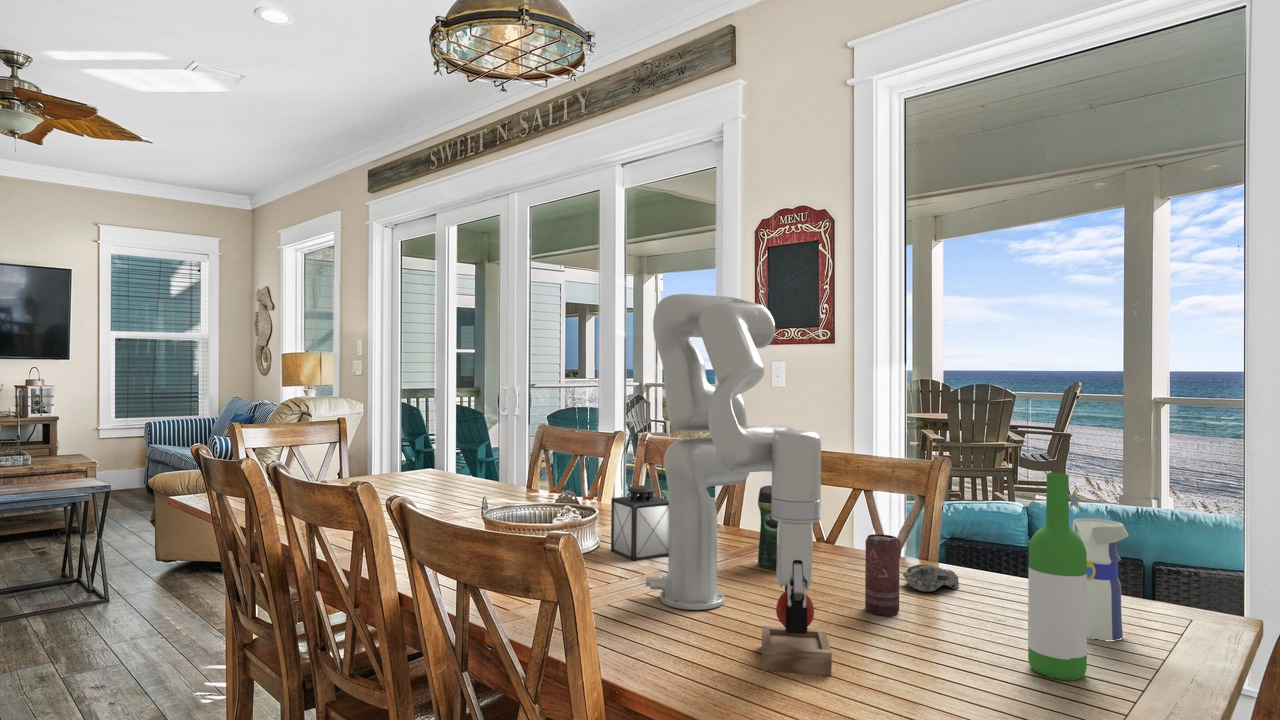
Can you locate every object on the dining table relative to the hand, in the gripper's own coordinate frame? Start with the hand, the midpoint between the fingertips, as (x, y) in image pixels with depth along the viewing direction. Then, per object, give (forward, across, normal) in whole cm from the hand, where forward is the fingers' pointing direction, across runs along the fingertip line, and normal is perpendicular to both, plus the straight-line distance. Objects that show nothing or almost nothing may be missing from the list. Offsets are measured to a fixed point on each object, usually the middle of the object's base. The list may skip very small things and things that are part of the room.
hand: (794, 624), depth 116 cm
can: (+6, -27, +18) cm, 33 cm away
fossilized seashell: (+6, -44, +31) cm, 54 cm away
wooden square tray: (+6, 0, 0) cm, 6 cm away
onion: (+2, 0, 0) cm, 2 cm away
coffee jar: (+6, -56, 0) cm, 56 cm away
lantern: (+6, -62, -33) cm, 70 cm away
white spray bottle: (+6, -21, +53) cm, 57 cm away
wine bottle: (+6, -2, +39) cm, 40 cm away
